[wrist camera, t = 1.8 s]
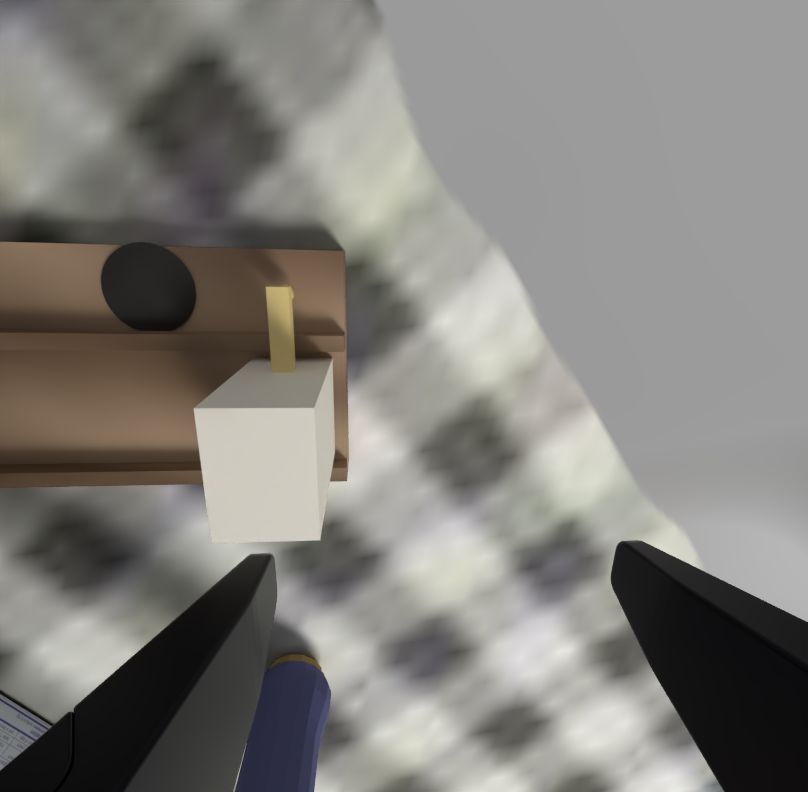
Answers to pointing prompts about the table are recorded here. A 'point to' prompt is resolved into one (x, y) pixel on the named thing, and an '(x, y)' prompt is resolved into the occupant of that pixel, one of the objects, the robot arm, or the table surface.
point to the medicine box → (17, 730)
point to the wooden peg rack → (144, 352)
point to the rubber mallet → (286, 728)
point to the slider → (269, 441)
